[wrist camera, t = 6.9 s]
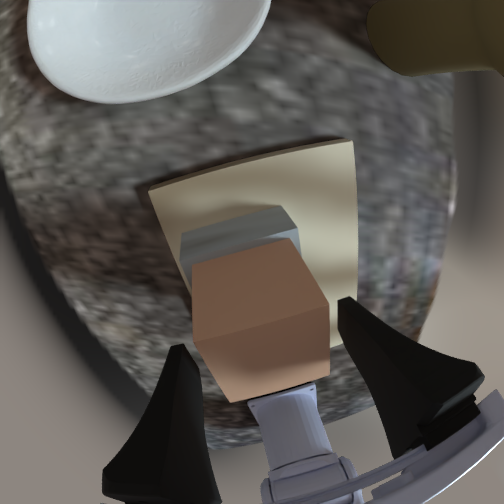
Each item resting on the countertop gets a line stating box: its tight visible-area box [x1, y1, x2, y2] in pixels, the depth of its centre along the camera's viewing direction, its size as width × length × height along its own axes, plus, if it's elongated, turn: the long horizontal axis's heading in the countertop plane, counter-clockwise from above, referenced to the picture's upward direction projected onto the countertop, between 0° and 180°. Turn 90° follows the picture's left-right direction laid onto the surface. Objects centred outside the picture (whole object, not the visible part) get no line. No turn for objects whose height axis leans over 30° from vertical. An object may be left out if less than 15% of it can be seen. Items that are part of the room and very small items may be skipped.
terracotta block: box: [192, 238, 330, 403], centre depth 13 cm, size 5×5×5 cm
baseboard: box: [148, 138, 358, 348], centre depth 18 cm, size 18×12×4 cm, turn 12°
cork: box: [366, 0, 504, 77], centre depth 7 cm, size 6×6×11 cm
